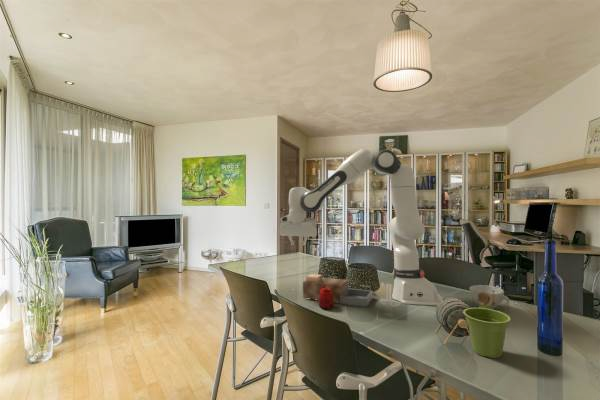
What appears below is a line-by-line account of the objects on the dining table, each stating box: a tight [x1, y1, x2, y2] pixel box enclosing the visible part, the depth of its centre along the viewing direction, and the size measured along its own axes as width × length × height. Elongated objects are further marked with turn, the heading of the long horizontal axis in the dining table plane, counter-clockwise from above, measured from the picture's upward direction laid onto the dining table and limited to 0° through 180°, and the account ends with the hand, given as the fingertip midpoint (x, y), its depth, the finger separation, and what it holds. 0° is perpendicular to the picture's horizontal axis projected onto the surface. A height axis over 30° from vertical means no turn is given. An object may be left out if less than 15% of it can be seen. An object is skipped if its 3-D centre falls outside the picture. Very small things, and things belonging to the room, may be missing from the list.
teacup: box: [469, 284, 510, 310], centre depth 125 cm, size 15×12×8 cm
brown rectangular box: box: [302, 277, 349, 304], centre depth 145 cm, size 19×12×8 cm, turn 64°
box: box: [339, 288, 374, 308], centre depth 138 cm, size 12×14×4 cm
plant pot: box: [462, 307, 511, 359], centre depth 88 cm, size 12×12×11 cm
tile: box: [305, 273, 323, 282], centre depth 148 cm, size 6×6×2 cm
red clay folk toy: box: [318, 273, 335, 310], centre depth 131 cm, size 8×7×15 cm
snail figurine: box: [477, 290, 495, 309], centre depth 112 cm, size 5×6×12 cm
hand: (298, 244), depth 152 cm, fingers open, 5 cm apart
